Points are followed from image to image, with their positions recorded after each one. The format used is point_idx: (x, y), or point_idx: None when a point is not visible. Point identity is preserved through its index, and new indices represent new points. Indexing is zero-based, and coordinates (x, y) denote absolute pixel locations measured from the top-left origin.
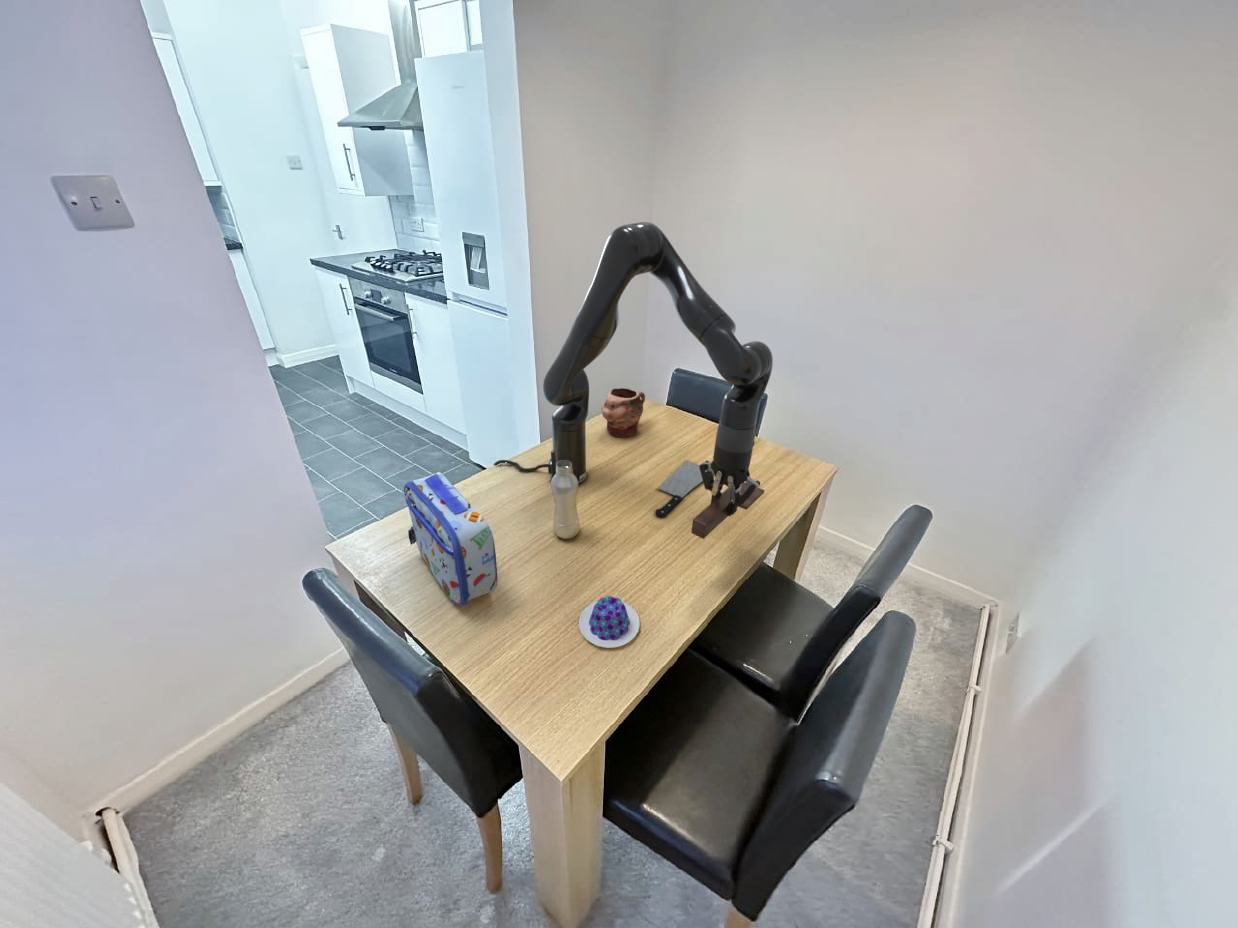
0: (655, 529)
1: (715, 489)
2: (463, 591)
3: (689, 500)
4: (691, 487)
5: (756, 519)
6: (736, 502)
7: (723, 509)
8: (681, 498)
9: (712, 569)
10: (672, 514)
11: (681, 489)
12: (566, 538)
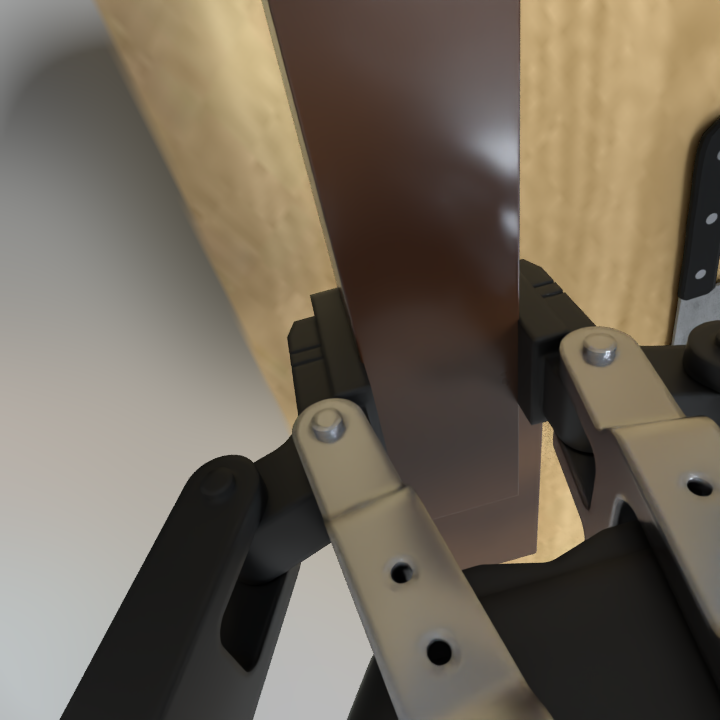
0: (694, 17)
1: (618, 397)
2: None
3: (644, 315)
4: None
5: None
6: (291, 444)
7: (334, 260)
8: (681, 294)
9: (267, 47)
10: (667, 190)
11: None
12: None
